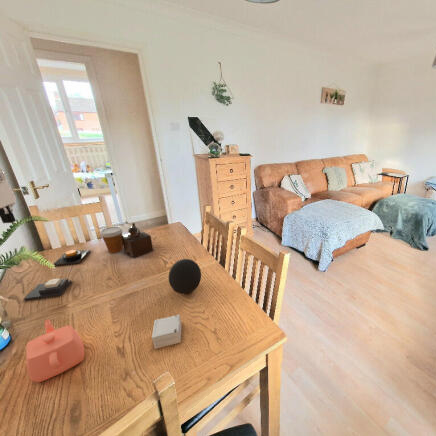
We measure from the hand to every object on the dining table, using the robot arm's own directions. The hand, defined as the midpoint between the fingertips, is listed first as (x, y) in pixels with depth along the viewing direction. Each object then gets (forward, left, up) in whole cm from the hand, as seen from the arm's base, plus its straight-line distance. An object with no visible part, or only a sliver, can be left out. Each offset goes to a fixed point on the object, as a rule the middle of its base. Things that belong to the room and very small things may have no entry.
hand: (9, 222), depth 97 cm
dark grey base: (+14, -16, -25) cm, 33 cm away
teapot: (+34, -53, -25) cm, 68 cm away
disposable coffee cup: (+28, +15, -25) cm, 41 cm away
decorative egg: (+67, -29, -25) cm, 77 cm away
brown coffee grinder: (+41, +9, -25) cm, 49 cm away
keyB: (+11, +10, -23) cm, 27 cm away
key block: (+11, +10, -25) cm, 29 cm away
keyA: (+16, -16, -22) cm, 32 cm away
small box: (+63, -52, -25) cm, 86 cm away
